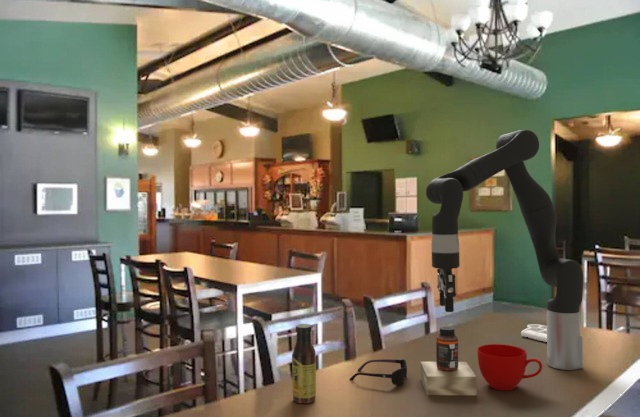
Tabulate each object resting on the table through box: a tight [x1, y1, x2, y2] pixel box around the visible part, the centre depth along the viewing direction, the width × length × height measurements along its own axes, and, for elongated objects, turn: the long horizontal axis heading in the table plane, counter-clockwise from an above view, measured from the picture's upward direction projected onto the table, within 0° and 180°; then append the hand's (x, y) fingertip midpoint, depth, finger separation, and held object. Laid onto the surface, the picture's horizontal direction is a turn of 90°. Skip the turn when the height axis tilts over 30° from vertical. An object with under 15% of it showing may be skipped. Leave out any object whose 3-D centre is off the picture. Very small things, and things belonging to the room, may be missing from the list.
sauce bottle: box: [291, 323, 317, 404], centre depth 137 cm, size 7×6×20 cm
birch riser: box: [420, 361, 478, 396], centre depth 145 cm, size 13×13×5 cm
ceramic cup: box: [476, 343, 543, 391], centre depth 144 cm, size 13×17×10 cm
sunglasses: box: [349, 358, 408, 387], centre depth 153 cm, size 14×16×5 cm
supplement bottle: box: [435, 326, 459, 371], centre depth 145 cm, size 6×6×11 cm
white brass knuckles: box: [520, 323, 547, 343], centre depth 195 cm, size 3×18×15 cm
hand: (446, 308), depth 145 cm, fingers open, 8 cm apart
